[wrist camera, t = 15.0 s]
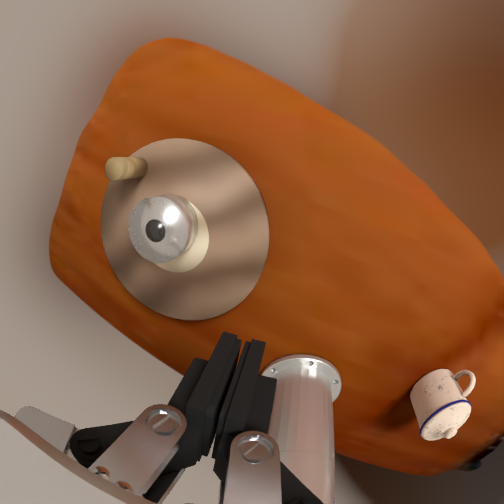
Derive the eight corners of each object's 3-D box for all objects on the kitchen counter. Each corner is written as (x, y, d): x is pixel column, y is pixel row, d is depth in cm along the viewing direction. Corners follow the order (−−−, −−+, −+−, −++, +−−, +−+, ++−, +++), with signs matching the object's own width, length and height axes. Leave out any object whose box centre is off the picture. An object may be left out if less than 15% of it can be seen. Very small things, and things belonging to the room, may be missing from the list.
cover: (208, 240, 30) (197, 250, 27) (160, 261, 32) (145, 271, 28) (182, 182, 29) (168, 184, 25) (136, 209, 30) (118, 214, 27)
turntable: (302, 279, 31) (301, 306, 25) (157, 331, 37) (135, 357, 31) (215, 104, 27) (193, 89, 21) (86, 197, 33) (54, 204, 27)
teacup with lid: (427, 408, 36) (443, 454, 25) (398, 397, 36) (412, 449, 25) (472, 362, 32) (499, 406, 21) (447, 346, 32) (477, 394, 21)
